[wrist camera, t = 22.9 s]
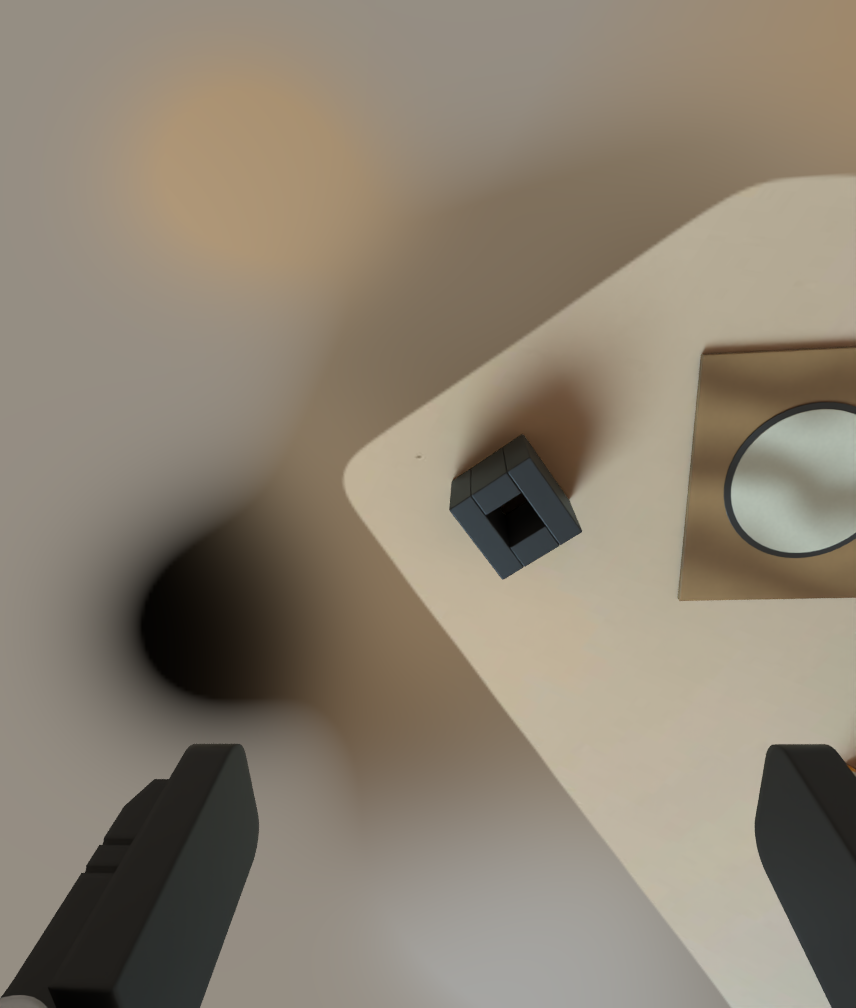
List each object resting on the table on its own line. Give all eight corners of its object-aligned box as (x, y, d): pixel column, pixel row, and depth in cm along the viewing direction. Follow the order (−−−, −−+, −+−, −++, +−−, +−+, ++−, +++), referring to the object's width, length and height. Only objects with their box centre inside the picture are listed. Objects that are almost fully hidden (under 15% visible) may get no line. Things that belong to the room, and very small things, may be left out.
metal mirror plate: (700, 354, 36) (704, 355, 35) (958, 341, 35) (966, 342, 34) (677, 598, 42) (680, 602, 41) (898, 593, 41) (904, 598, 40)
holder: (522, 433, 38) (530, 456, 34) (569, 500, 40) (583, 532, 35) (451, 481, 40) (448, 510, 35) (499, 544, 41) (502, 580, 36)
